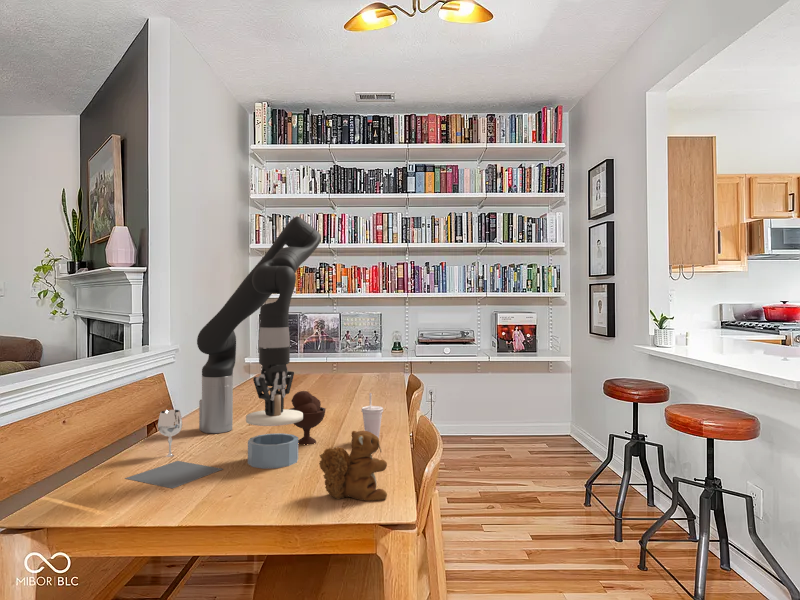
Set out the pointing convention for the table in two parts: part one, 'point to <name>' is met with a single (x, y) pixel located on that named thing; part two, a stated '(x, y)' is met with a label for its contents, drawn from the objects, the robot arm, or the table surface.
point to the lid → (275, 415)
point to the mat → (174, 474)
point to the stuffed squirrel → (354, 469)
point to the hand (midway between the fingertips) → (274, 413)
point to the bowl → (273, 450)
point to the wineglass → (170, 425)
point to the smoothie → (372, 418)
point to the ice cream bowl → (307, 414)
